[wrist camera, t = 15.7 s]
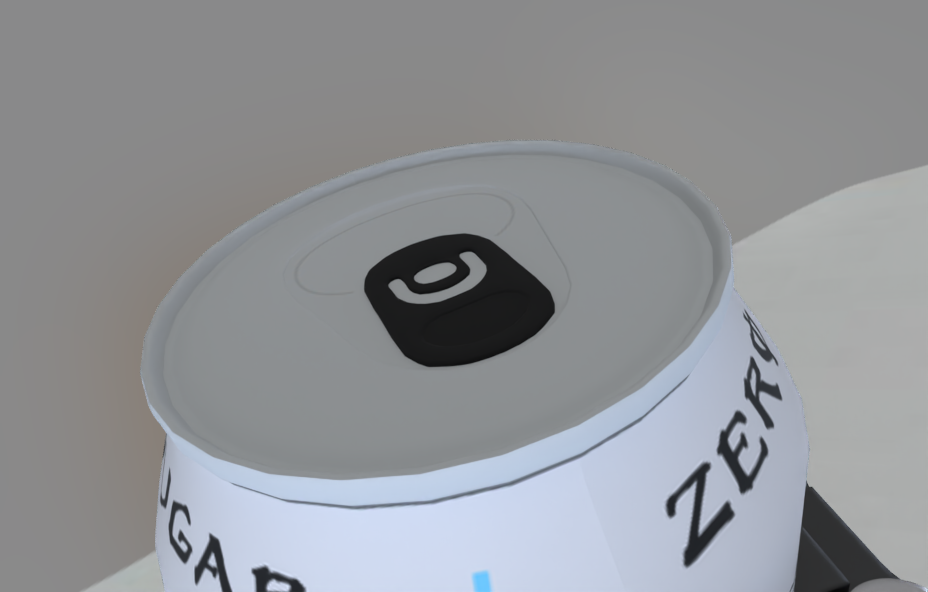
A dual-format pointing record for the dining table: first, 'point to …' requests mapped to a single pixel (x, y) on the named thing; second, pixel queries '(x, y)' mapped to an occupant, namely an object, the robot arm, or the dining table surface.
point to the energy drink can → (476, 388)
